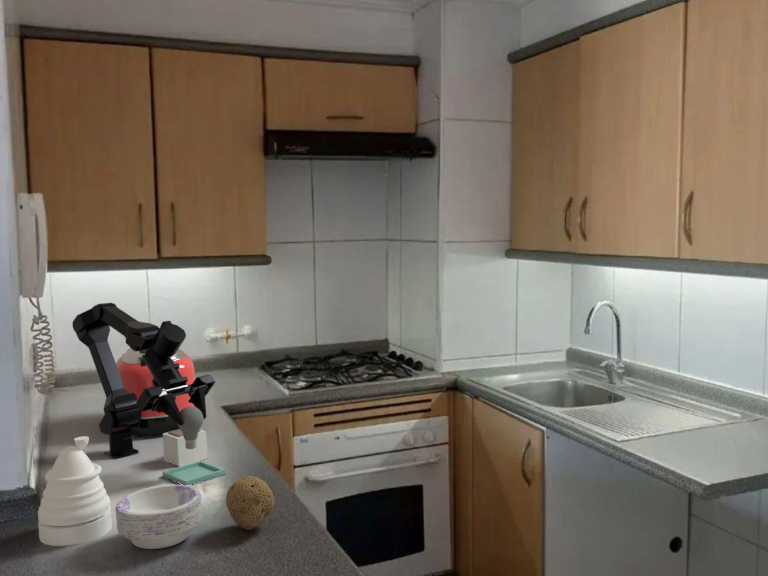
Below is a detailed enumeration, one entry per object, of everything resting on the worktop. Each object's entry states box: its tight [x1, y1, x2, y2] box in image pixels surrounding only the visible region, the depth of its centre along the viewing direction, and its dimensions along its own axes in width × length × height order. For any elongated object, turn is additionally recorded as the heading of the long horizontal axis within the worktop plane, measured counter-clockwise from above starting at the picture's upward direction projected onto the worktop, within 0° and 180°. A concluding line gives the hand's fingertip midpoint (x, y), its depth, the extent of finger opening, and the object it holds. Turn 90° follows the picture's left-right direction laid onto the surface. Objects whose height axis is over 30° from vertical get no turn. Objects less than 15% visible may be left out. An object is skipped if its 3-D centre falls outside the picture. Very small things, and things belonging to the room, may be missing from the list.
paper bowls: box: [115, 484, 203, 550], centre depth 134 cm, size 15×15×8 cm
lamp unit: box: [162, 429, 208, 467], centre depth 180 cm, size 7×8×7 cm
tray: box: [162, 460, 227, 486], centre depth 169 cm, size 10×10×1 cm
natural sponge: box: [225, 475, 275, 531], centre depth 138 cm, size 9×9×10 cm
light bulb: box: [177, 406, 204, 450], centre depth 167 cm, size 6×6×10 cm
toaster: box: [115, 347, 196, 439], centre depth 214 cm, size 32×23×23 cm
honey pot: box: [37, 435, 113, 547], centre depth 138 cm, size 13×13×18 cm
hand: (193, 421), depth 166 cm, fingers closed on light bulb, 6 cm apart
